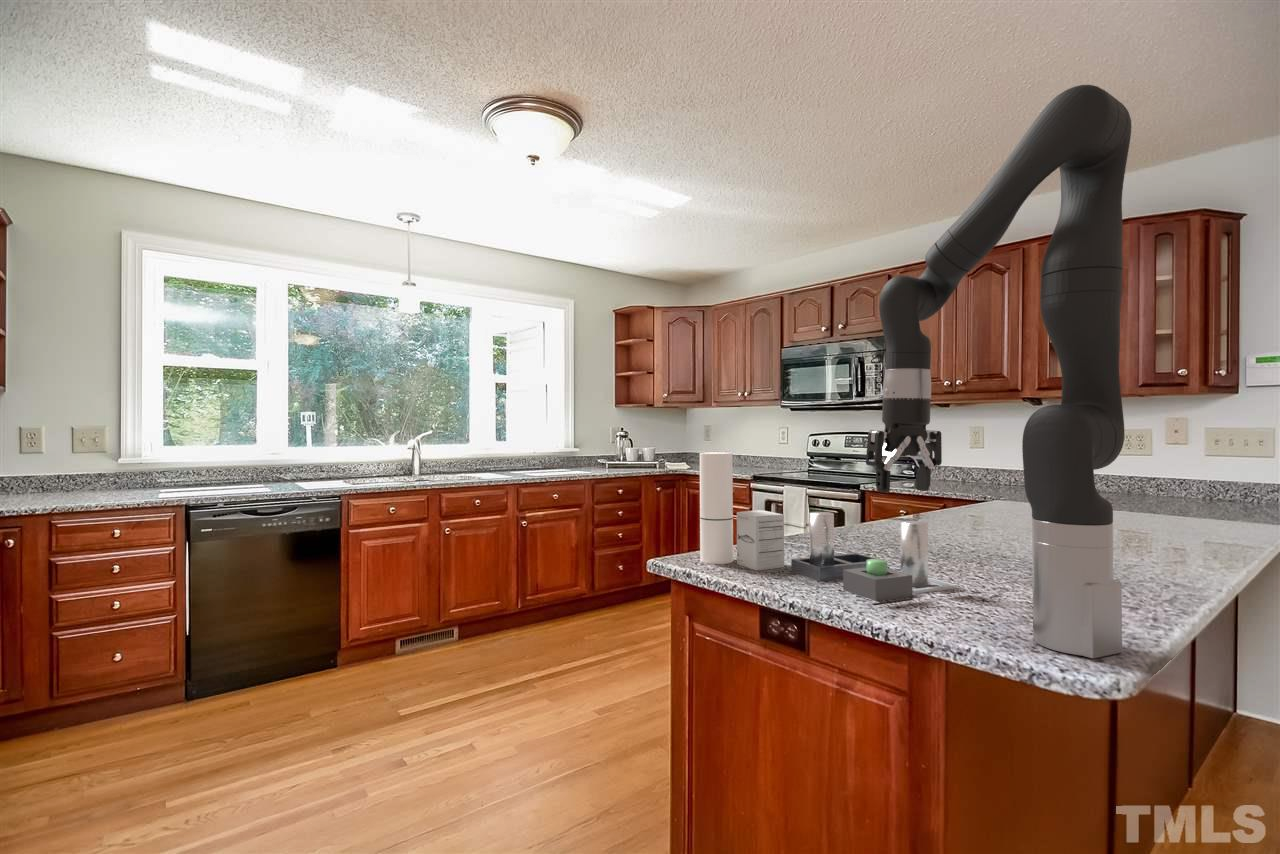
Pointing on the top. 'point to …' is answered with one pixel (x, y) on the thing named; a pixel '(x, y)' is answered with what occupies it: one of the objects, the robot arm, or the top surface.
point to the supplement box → (760, 539)
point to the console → (878, 585)
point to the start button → (877, 567)
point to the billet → (914, 551)
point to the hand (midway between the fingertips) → (903, 491)
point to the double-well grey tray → (831, 571)
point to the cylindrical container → (716, 508)
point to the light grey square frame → (936, 588)
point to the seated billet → (821, 538)
